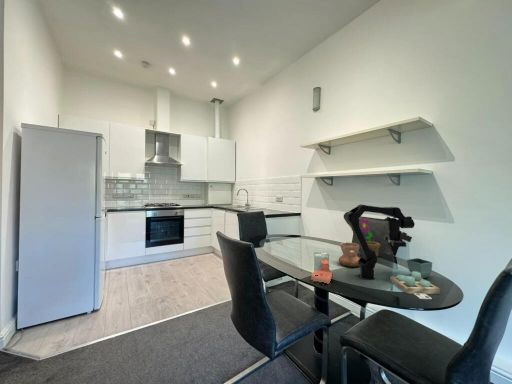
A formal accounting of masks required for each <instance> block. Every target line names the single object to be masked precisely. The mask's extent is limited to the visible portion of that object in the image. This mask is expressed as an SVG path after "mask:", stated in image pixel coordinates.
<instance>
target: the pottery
mask: <svg viewBox="0 0 512 384" xmlns="http://www.w3.org/2000/svg"><path fill="white" fill-rule="evenodd" d="M315 275H318V276H315ZM310 276H311V277H310V279H311V280H313V281H319V282H324V283H327V284H329V283H330V281H331V279H332V280H333V273H332V271H331V270H330V262H329V260H327V258H324V257H323V259H322V260H321V261H320V268H319V270H318V269H317V270H316V269H315V270H314V271H313V272H312V273H311V274H310ZM311 280H310V281H311ZM331 282H332V281H331ZM330 284H331V283H330Z"/></svg>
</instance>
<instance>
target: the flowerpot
mask: <svg viewBox="0 0 512 384" xmlns="http://www.w3.org/2000/svg"><path fill="white" fill-rule="evenodd" d="M369 222H370V221H369V219H365V217H364V216H363V217H362V216H361V221H359V226H361V227H360V229H361V231H362V232H363V231H364V234H365V235H367V234H368V236H365V239H367V240H366V242H367V245H368V247H369V249H371V250H374V251H375V253H376V256H377V257H379V248H381V242H380V243H379V242H377V241H372V240H371V238H373V234H372V232H370V230H371V226H369V225H368V224H369Z"/></svg>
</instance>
